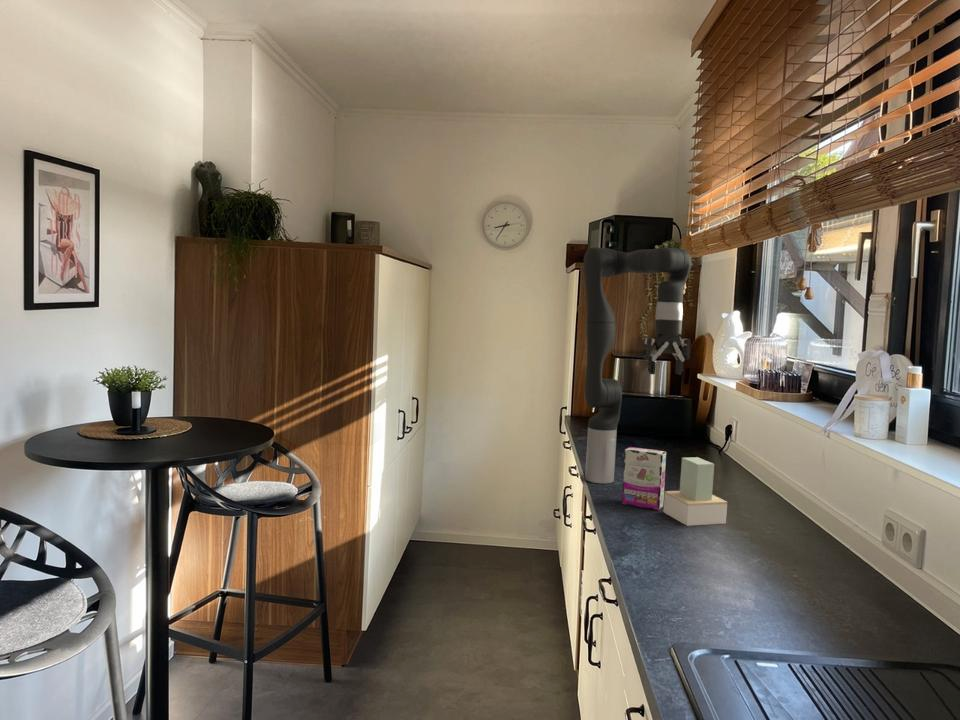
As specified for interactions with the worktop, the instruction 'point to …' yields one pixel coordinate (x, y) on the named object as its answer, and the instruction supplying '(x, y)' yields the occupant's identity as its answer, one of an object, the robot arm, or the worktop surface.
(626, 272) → the robot arm
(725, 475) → the worktop surface
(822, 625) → the worktop surface
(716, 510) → the podium
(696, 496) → the sage carton
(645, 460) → the candy bar box
